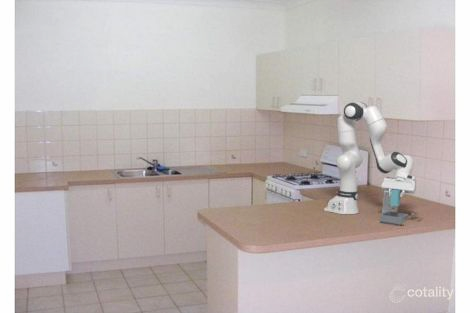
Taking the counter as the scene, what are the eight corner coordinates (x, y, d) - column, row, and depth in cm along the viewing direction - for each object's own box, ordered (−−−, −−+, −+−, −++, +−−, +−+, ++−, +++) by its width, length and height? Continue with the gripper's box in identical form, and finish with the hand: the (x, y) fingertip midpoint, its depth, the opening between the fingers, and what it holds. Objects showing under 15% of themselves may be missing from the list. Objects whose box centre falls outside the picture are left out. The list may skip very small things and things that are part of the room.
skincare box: (381, 213, 341) (382, 191, 339) (385, 212, 346) (386, 190, 344) (394, 216, 336) (395, 193, 334) (398, 214, 340) (399, 191, 339)
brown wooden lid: (399, 220, 323) (399, 213, 323) (405, 217, 333) (406, 209, 332) (419, 223, 316) (419, 215, 316) (425, 220, 326) (425, 212, 325)
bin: (379, 223, 317) (380, 214, 316) (387, 219, 327) (387, 211, 326) (400, 226, 309) (401, 218, 309) (407, 222, 319) (408, 214, 319)
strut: (390, 205, 316) (390, 190, 315) (392, 204, 320) (393, 189, 319) (397, 206, 314) (398, 191, 313) (400, 205, 317) (400, 190, 316)
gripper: (383, 173, 326) (377, 191, 320) (417, 177, 314) (411, 195, 308) (385, 180, 330) (379, 197, 324) (419, 183, 318) (413, 201, 312)
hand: (395, 196), depth 316 cm, fingers closed on strut, 4 cm apart
